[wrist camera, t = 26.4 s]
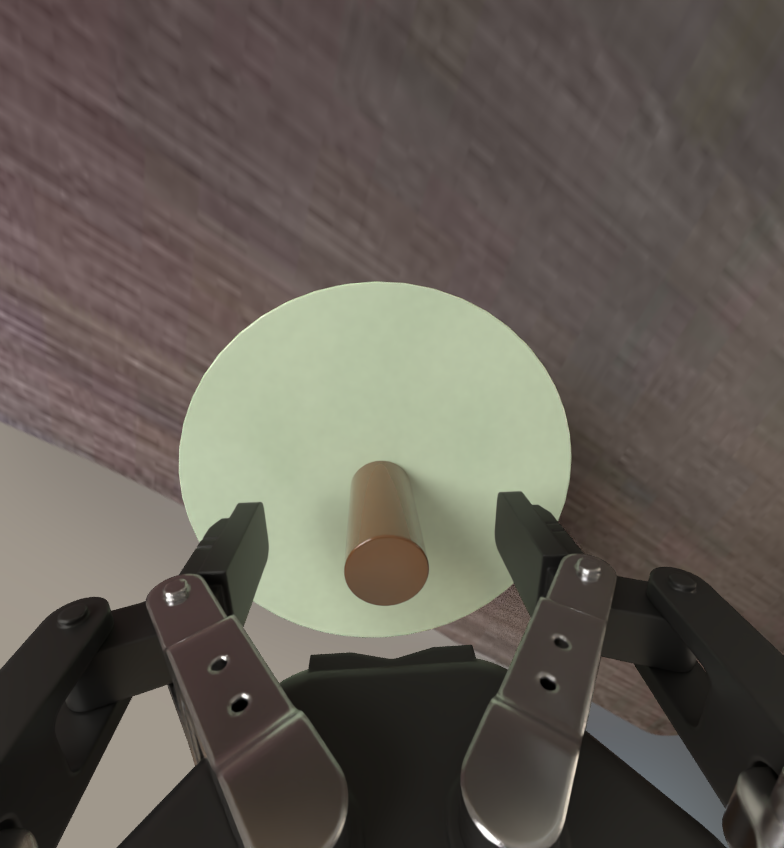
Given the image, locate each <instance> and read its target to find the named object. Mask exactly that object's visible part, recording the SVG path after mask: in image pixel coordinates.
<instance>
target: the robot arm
mask: <svg viewBox="0 0 784 848" xmlns="http://www.w3.org/2000/svg"><path fill="white" fill-rule="evenodd" d="M495 543H496V547H497V550H498V552H499V554H500V556H501V558H502V560H503V562H504V564H505V566H506V568H507V570H508V572H509V574H510V576H511V578H512V580H513V582H514V584H515V586H516V588H517V590H518V592H519V594H520V596H521V598H522V600H523V602H524V604H525V607H526V609H527V611H528V613H529V615H530V617H531V619H530V621H529V623H528V626H527V628H526V630H525V632H524V635H523V637H522V639H521V641H520V644H519V646H518V648H517V650H516V653H515V655H514V657H513V660H512V662H511V664H510V666H509V669H508V670H507V669H505V668H503V667H501V666H499V665H497V664H494V663H492V662H488V661H485V660H481V659H476V657H475V653H474V650H473V646H472V645H462V646H446V647H432V648H430V649H426V650H422V651H419V652H416V653H413V654H410V655H406V656H403V657H399V658H396V659H386V658H380V657H375V656H369V655H363V654H357V653H335V654H320V655H311V656H310V663H309V669H308V670H305V671H302V672H299V673H297V674H295V675H292V676H291V677H289V678H287V679H285V680H283V681H282V682H281V683H279V682H278V681H277V679H276V678H275V676H274V675H273V673H272V672H271V670H270V668H269V667H268V665H267V664H266V662H265V661H264V659H263V658H262V656H261V654H260V653H259V651H258V650H257V648H256V647H255V645H254V644H253V642H252V641H251V639H250V637H249V636H248V634H247V633H246V631H245V630H244V628H243V627H244V624H245V621H246V618H247V615H248V613H249V610H250V607H251V605H252V602H253V599H254V596H255V593H256V591H257V588H258V585H259V582H260V579H261V577H262V574H263V571H264V568H265V565H266V563H267V559H268V553H269V541H268V533H267V526H266V518H265V511H264V506H263V503H262V502H246V503H238V504H237V505H236V507H235V509H234V511H233V512H232V514H231V516H230V517H229V518H221V519H220V520H219V521H217V522H216V523H215V524H214V525H212V526H211V527H210V528H209V529H208V531H207V532H206V534H205V535H204V537H203V540H201V541H200V543H199V545H198V546H197V549H196V550H195V551H194V552H193V554H192V555H191V557H190V559H189V560H188V562H187V563H186V565H185V566H184V568H183V569H182V571H181V573H180V574H179V575H178V576H174V577H171V578H169V579H167V580H165V581H163V582H161V583H160V584H158V585H157V586H155V587H154V588H153V589H152V590H151V591H150V593H149V594H148V596H147V598H146V601H145V602H142V603H139V604H135V605H131V606H128V607H124V608H120V609H116V610H113V611H111V610H110V606H109V604H108V602H107V600H106V599H104V598H101V597H89V598H83V599H79V600H76V601H73V602H71V603H69V604H66V605H65V606H62V607H61V608H59V609H57V610H56V611H54V612H53V613H51V614H50V615H49V616H48V617H47V618H46V619H45V620H44V621H43V622H42V623H41V624H40V625H39V627H37V629H36V630H35V631H34V632H33V633H32V634H31V635H30V636H29V638H28V639H27V640H26V641H25V642H24V643H23V644H22V646H21V647H20V648H19V649H18V650H17V651H16V652H15V654H14V655H13V656H12V657H11V658H10V659H9V660H8V661H7V663H6V664H5V665H4V666H3V667H2V668H1V669H0V848H56V847H57V845H58V843H59V841H60V839H61V837H62V835H63V833H64V831H65V829H66V827H67V825H68V823H69V821H70V819H71V817H72V815H73V813H74V811H75V809H76V807H77V805H78V803H79V801H80V799H81V797H82V795H83V793H84V791H85V790H86V788H87V786H88V784H89V782H90V780H91V777H92V776H93V774H94V772H95V770H96V767H97V766H98V764H99V762H100V760H101V758H102V756H103V754H104V752H105V750H106V748H107V746H108V744H109V742H110V740H111V738H112V736H113V734H114V732H115V730H116V728H117V726H118V724H119V722H120V720H121V718H122V716H123V714H124V712H125V710H126V708H127V706H128V704H129V702H130V700H131V698H132V696H135V695H138V694H141V693H144V692H147V691H150V690H153V689H156V688H159V687H162V686H164V685H168V688H169V691H170V694H171V696H172V699H173V702H174V705H175V708H176V710H177V713H178V716H179V719H180V722H181V724H182V727H183V730H184V733H185V736H186V738H187V741H188V744H189V747H190V750H191V753H192V757H193V760H194V763H195V767H194V768H193V769H192V770H191V771H190V772H189V773H188V774H187V775H186V776H185V777H184V778H183V779H182V780H181V781H180V783H179V784H178V785H177V786H176V787H175V788H174V789H173V790H172V791H171V792H170V793H169V794H168V795H167V796H166V797H165V798H164V799H163V800H162V801H161V802H160V803H159V804H158V805H157V806H156V807H155V808H154V809H153V810H152V812H151V813H150V814H149V815H148V816H147V817H146V818H145V819H144V820H143V821H142V822H141V823H140V824H139V825H138V826H137V827H136V828H135V829H134V830H133V831H132V832H131V833H130V834H129V835H128V836H127V837H126V838H125V840H124V841H123V842H122V843H121V844H120V845H119V846H118V847H117V848H726V847H725V846H724V845H723V844H722V843H721V842H720V841H719V840H718V839H717V838H716V837H715V836H714V835H713V834H712V833H711V832H710V831H708V830H707V829H706V828H705V827H704V826H703V825H702V824H700V823H699V822H698V821H697V820H695V819H694V818H693V817H692V816H691V815H689V814H688V813H687V812H686V811H684V810H683V809H682V808H681V807H679V806H678V805H677V804H675V803H674V802H673V801H672V800H671V799H670V798H668V797H667V796H666V795H665V794H663V793H662V792H661V791H660V790H658V789H657V788H656V787H655V786H653V785H652V784H651V783H650V782H649V781H647V780H646V779H645V778H644V777H642V776H641V775H640V774H639V773H637V772H636V771H635V770H634V769H632V768H631V767H630V766H629V765H628V764H626V763H625V762H624V761H623V760H621V759H620V758H619V757H618V756H617V755H615V754H614V753H613V752H612V751H610V750H609V749H608V748H607V747H605V746H604V745H603V744H601V743H600V742H599V741H598V740H597V739H596V738H594V737H593V736H592V735H590V734H589V733H588V732H587V731H586V726H587V721H588V717H589V712H590V707H591V702H592V698H593V693H594V688H595V683H596V678H597V674H598V669H599V664H600V659H601V656H602V657H606V658H611V659H616V660H620V661H625V662H630V663H634V665H635V667H636V668H637V670H638V671H639V673H640V675H641V676H642V678H643V679H644V681H645V682H646V684H647V686H648V687H649V689H650V690H651V692H652V693H653V695H654V697H655V698H656V700H657V701H658V703H659V704H660V706H661V708H662V709H663V711H664V712H665V714H666V716H667V717H668V719H669V720H670V722H671V723H672V725H673V727H674V728H675V730H676V731H677V733H678V734H679V736H680V738H681V739H682V740H683V742H684V744H685V745H686V747H687V749H688V750H689V752H690V753H691V755H692V756H693V758H694V760H695V761H696V763H697V764H698V766H699V768H700V769H701V771H702V772H703V774H704V775H705V777H706V778H707V780H708V782H709V783H710V785H711V786H712V788H713V790H714V791H715V793H716V794H717V796H718V798H719V799H720V801H721V802H722V804H723V805H724V807H725V809H726V810H725V812H724V815H723V819H722V827H723V832H724V836H725V838H726V841H727V843H728V845H729V847H730V848H784V656H783V655H782V654H781V653H780V652H779V651H778V650H777V649H776V648H775V647H774V646H773V645H772V644H771V643H770V642H769V641H768V640H766V639H765V638H764V637H763V636H762V635H761V634H760V633H759V632H758V631H757V630H756V629H755V628H754V627H753V626H752V625H751V624H750V623H749V622H748V621H747V620H745V619H744V618H743V617H742V616H741V615H740V614H739V613H738V612H737V611H736V610H735V609H734V608H733V607H732V606H731V605H730V604H729V603H728V602H727V601H726V600H724V599H723V598H722V597H721V596H720V595H719V594H718V593H717V592H716V591H715V590H714V589H713V588H712V587H711V586H710V585H709V584H708V583H706V582H705V581H704V580H702V579H701V578H699V577H698V576H696V575H694V574H692V573H690V572H687V571H684V570H681V569H677V568H672V567H659V568H656V569H654V570H652V571H651V573H650V577H649V581H642V580H636V579H630V578H624V577H619V576H617V575H616V572H615V570H614V569H613V568H612V567H611V566H610V565H609V564H608V563H606V562H605V561H603V560H601V559H599V558H597V557H594V556H591V555H587V554H584V553H583V552H582V551H581V549H580V548H579V547H578V546H577V545H576V543H575V542H574V541H573V540H572V538H571V537H570V536H569V535H568V533H567V532H566V531H564V528H563V527H562V526H561V525H560V524H558V521H557V520H556V518H555V517H554V516H553V515H552V513H551V512H549V511H548V510H546V509H544V508H543V507H541V506H540V505H532V504H531V503H530V501H529V500H528V499H527V497H526V496H525V495H524V493H523V492H522V491H510V492H499V493H498V496H497V506H496V518H495ZM696 659H698V660H699V662H700V663H701V664H702V665H703V667H704V669H705V670H704V669H703V668H702V667H701V665H700V664H699V663H698V662H697V660H696ZM705 671H706V672H705Z"/></svg>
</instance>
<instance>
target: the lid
mask: <svg viewBox="0 0 784 848" xmlns="http://www.w3.org/2000/svg"><path fill="white" fill-rule="evenodd" d="M570 470H571V443H570V432H569V428H568V423H567V418H566V414H565V410H564V407H563V404H562V402H561V399H560V397H559V394H558V391H557V389H556V387H555V385H554V383H553V381H552V379H551V378H550V376H549V374H548V372H547V370H546V369H545V367H544V365H543V364H542V363H541V361H540V360H539V359H538V358H537V356H536V355H535V354H534V352H533V351H532V350H531V349H530V347H529V346H528V345H527V344H526V343H525V342H524V341H523V340H522V339H521V338H520V337H519V336H518V335H517V334H516V333H515V332H514V331H513V330H511V329H510V328H509V327H508V326H507V325H505V324H504V323H503V322H501V321H500V320H498V319H497V318H496V317H494V316H493V315H491V314H490V313H489V312H487V311H485V310H483V309H481V308H480V307H478V306H476V305H474V304H472V303H470V302H468V301H466V300H464V299H462V298H459V297H457V296H454V295H451V294H448V293H445V292H442V291H439V290H436V289H433V288H428V287H423V286H418V285H412V284H407V283H394V282H376V281H375V282H363V283H351V284H343V285H339V286H334V287H330V288H326V289H321V290H317V291H314V292H311V293H309V294H306V295H303V296H301V297H298V298H295V299H293V300H290V301H288V302H286V303H284V304H282V305H280V306H279V307H277V308H275V309H273V310H271V311H270V312H268V313H266V314H264V315H262V316H261V317H260V318H258V319H257V320H256V321H254V322H253V323H252V324H251V325H249V326H248V327H247V328H245V329H244V330H243V331H241V332H240V333H239V334H238V335H237V336H236V337H235V338H234V339H233V340H232V341H231V342H230V343H229V344H228V345H227V346H226V347H225V348H224V349H223V350H222V351H221V352H220V353H219V355H218V356H217V358H216V359H215V360H214V362H213V363H212V364H211V366H210V367H209V369H208V370H207V371H206V373H205V374H204V376H203V378H202V380H201V382H200V383H199V385H198V387H197V389H196V391H195V393H194V395H193V397H192V399H191V402H190V405H189V408H188V411H187V414H186V417H185V420H184V424H183V429H182V435H181V441H180V447H179V476H180V484H181V492H182V497H183V501H184V504H185V508H186V511H187V515H188V518H189V521H190V523H191V525H192V527H193V530H194V532H195V534H196V536H197V539H198V540H199V542H200V541H201V540H203V537H204V535H205V534H206V532H207V531H208V529H209V528H210V527H211V526H212V525H214V524H215V523H216V522H217V521H219V520H220V519H221V518H229V517H230V516H231V514H232V512H233V511H234V509H235V507H236V505H237V504H238V503H246V502H262V503H263V506H264V511H265V518H266V526H267V533H268V541H269V553H268V559H267V563H266V565H265V568H264V571H263V574H262V577H261V579H260V582H259V585H258V588H257V591H256V593H255V596H254V599H253V601H254V602H255V603H257V604H258V605H260V606H261V607H263V608H265V609H267V610H268V611H270V612H272V613H274V614H275V615H277V616H279V617H282V618H284V619H286V620H289V621H291V622H293V623H295V624H298V625H301V626H304V627H307V628H310V629H314V630H317V631H320V632H326V633H331V634H336V635H341V636H352V637H362V638H365V637H392V636H401V635H408V634H412V633H417V632H422V631H427V630H430V629H433V628H436V627H439V626H443V625H446V624H449V623H451V622H453V621H455V620H458V619H460V618H462V617H464V616H467V615H469V614H471V613H472V612H474V611H476V610H478V609H479V608H481V607H483V606H485V605H486V604H488V603H489V602H491V601H492V600H493V599H495V598H496V597H498V596H499V595H500V594H502V593H503V592H504V591H506V590H507V589H508V588H509V587H510V586H511V585H512V584H513V583H514V582H513V580H512V578H511V576H510V574H509V572H508V570H507V568H506V566H505V564H504V562H503V560H502V558H501V556H500V554H499V552H498V550H497V547H496V543H495V518H496V506H497V496H498V493H499V492H510V491H522V492H523V493H524V495H525V496H526V497H527V499H528V500H529V501H530V503H531V504H532V505H540V506H541V507H543V508H544V509H546V510H548V511H549V512H551V513H552V515H553V516H554V517H555V518H556V520H557V521H558V520H559V517H560V514H561V512H562V509H563V506H564V503H565V500H566V495H567V490H568V486H569V481H570Z"/></svg>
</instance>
